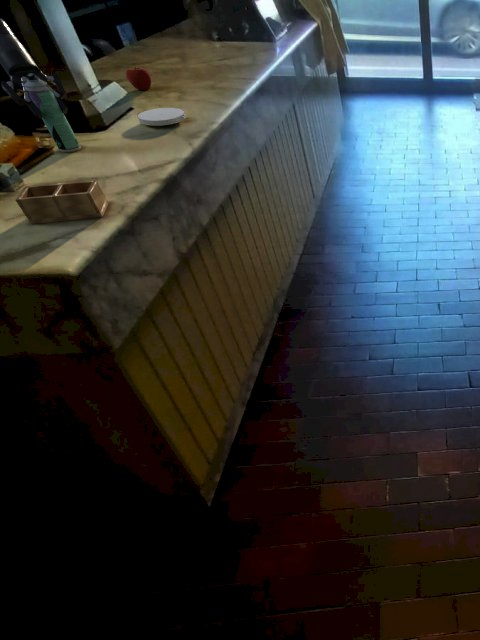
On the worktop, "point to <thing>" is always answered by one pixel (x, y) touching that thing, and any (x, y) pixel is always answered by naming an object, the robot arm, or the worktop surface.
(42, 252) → the worktop surface
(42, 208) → the box
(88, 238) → the worktop surface
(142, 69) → the apple
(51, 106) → the spray can
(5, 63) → the robot arm
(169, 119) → the plastic lid
